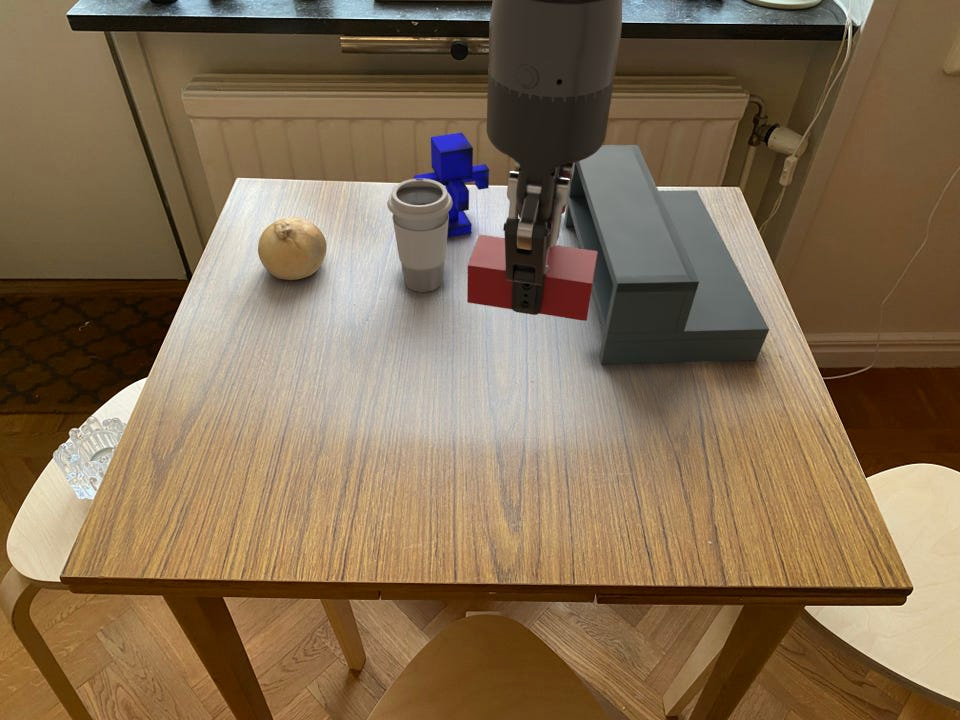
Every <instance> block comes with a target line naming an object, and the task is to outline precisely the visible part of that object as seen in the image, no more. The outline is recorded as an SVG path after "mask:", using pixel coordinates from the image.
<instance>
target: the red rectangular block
mask: <svg viewBox="0 0 960 720" xmlns="http://www.w3.org/2000/svg"><path fill="white" fill-rule="evenodd" d="M597 254H598V251H592V250H585V249H580V248H578V247H570V246H564V245H557V244H556V245H555V246H554V247H552V248H550V251H549V258H548V265H549V271H548V272H546V279H545V282H544V292H543V301H542V308H541V312H540V313H539V314H538V315H544V316H545V315H546V316H552V317H558V318H565V319H571V320H578V321H584V322H586V321H587V320H588V314H589V307H590V302H591V295H592V284H593V278H594V272H595V266H596V260H597ZM467 263H468V264H467V284H466V285H467V286H466V287H467V292H466V293H467V297H466V298H467V300H466V301H467V303H469V304H475V305H481V306H487V307H494V308H500V309H507V310H512V308H511V299H512V284H513V281H507V280H506V275H505V269H506V261H505V237H500V236H494V235H493V236H492V235H487V234H486V235H485V234H479V235H478V237H477V239H476V242H475V245H474V247H473V250H472V252H471V256H470V257H469V261H468V262H467Z"/></svg>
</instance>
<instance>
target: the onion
mask: <svg viewBox="0 0 960 720" xmlns="http://www.w3.org/2000/svg"><path fill="white" fill-rule="evenodd" d="M327 246H328V245H327V240H326V238H325V235H324V233H323V232H322V230H320V228H319V227H318V226H317V225H316V224H315V223H313V222H312V221H311V220H308V219H304V218H301V217H286V218H281V219H278V220H276V221H274V222H273V223H271V224H269V225H268V226H266V228H264V230H263V231H262V233H261V234H260V237H259V239H258V243H257V254H258V258H259V260H260V262H261V265H262V266H263V267H264V269H265V270H267V271H268V272H269V274H270V275H272V276H273V277H275V278H276V279H278V280H279V279H280V280H289V281H293V280H294V281H295V280H302V279H304V278H307V277H309V276H312V275H314V274H315V273H317V272H318V270H319V269H320V268H321V266H322V264H323V262H324V259H325V258H326V255H327V249H328V248H327Z"/></svg>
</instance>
